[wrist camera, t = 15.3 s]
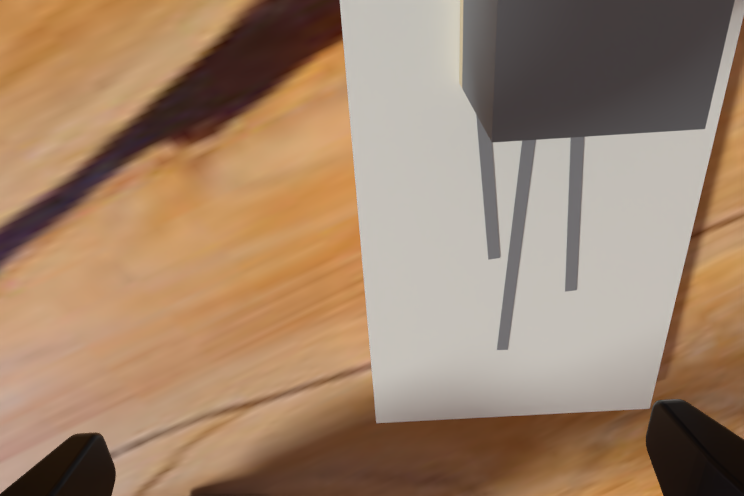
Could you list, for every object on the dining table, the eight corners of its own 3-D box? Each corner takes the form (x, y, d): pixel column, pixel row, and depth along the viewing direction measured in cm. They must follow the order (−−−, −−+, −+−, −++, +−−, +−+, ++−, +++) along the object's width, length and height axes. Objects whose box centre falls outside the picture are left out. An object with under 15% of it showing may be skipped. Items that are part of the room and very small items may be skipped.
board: (637, 387, 24) (650, 409, 23) (376, 401, 25) (376, 423, 24) (780, -267, 14) (815, -282, 13) (322, -229, 14) (318, -241, 13)
